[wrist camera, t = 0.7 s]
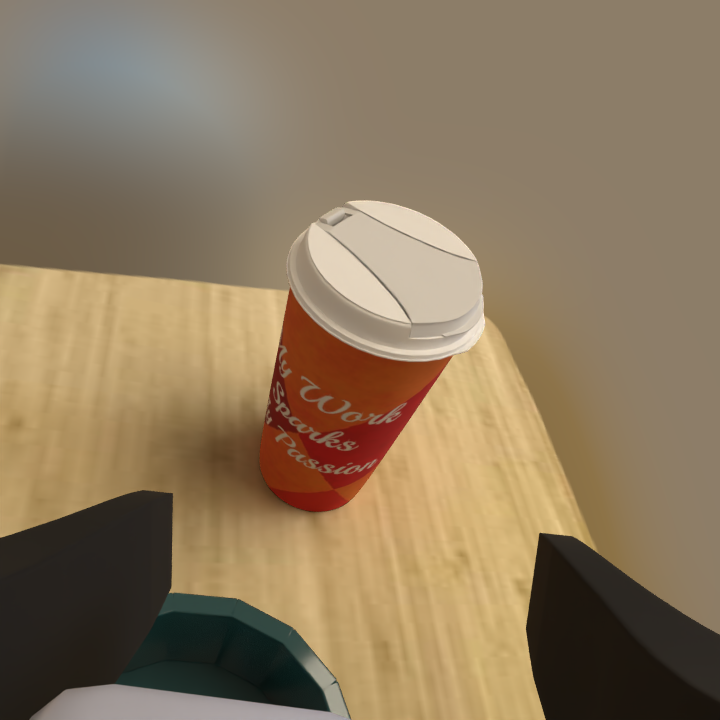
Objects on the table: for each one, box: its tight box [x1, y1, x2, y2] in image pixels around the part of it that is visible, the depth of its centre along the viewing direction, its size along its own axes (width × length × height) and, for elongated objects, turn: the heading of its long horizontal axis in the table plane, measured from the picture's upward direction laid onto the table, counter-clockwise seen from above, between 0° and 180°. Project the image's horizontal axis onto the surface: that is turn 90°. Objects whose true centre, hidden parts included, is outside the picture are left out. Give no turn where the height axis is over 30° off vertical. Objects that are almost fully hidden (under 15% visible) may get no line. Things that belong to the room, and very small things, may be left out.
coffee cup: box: [259, 200, 485, 512], centre depth 30 cm, size 8×8×15 cm
